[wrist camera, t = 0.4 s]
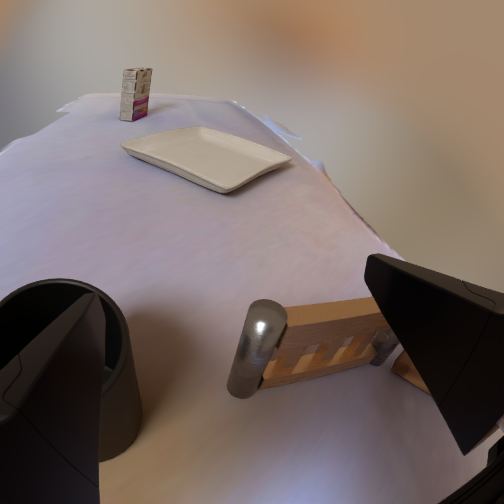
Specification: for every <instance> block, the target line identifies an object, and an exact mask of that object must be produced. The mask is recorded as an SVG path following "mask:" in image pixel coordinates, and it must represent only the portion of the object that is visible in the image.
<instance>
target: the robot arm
mask: <svg viewBox="0 0 504 504" xmlns="http://www.w3.org/2000/svg"><path fill="white" fill-rule="evenodd" d="M364 280H365V283H366V285H367V286H368V288H369V290H370V292H371V294H372V296H373V298H374V300H375V302H376V304H377V306H378V307H379V309H380V311H381V313H382V315H383V316H384V318H385V320H386V321H387V323H388V324H389V326H390V327H391V329H392V331H393V332H394V334H395V335H396V337H397V339H398V340H399V342H400V343H401V345H402V347H403V348H404V350H405V351H406V353H407V355H408V356H409V358H410V360H411V361H412V363H413V365H414V366H415V368H416V370H417V371H418V373H419V375H420V376H421V378H422V380H423V382H424V383H425V385H426V387H427V389H428V390H429V392H430V394H431V396H432V397H433V399H434V401H435V403H436V404H437V406H438V408H439V410H440V412H441V414H442V416H443V418H444V419H445V421H446V423H447V425H448V427H449V429H450V431H451V433H452V435H453V437H454V438H455V440H456V442H457V444H458V446H459V448H460V450H461V452H462V454H463V455H464V456H465V455H467V454H468V453H469V452H471V451H472V450H473V449H474V448H476V447H477V446H478V445H480V444H481V443H482V442H483V441H484V440H486V439H487V438H488V437H489V436H491V435H492V434H493V433H494V432H495V431H496V430H498V429H499V428H501V430H502V431H503V432H504V293H500V292H497V291H493V290H491V289H487V288H484V287H481V286H478V285H475V284H472V283H469V282H466V281H463V280H462V281H461V280H460V279H456V278H454V277H451V276H448V275H445V274H442V273H439V272H436V271H433V270H430V269H427V268H424V267H421V266H418V265H414V264H411V263H408V262H405V261H402V260H399V259H396V258H392V257H389V256H386V255H383V254H379V253H378V254H371V255H369V256H368V258H367V262H366V268H365V273H364ZM105 326H106V319H105V314H104V311H103V308H102V305H101V302H100V299H99V297H98V295H97V294H96V293H89V294H84V295H83V296H82V297H81V298H79V299H78V300H77V301H76V302H75V303H74V304H72V305H71V306H70V307H69V308H68V309H67V310H66V311H64V312H63V313H62V314H61V315H60V316H59V317H58V318H56V319H55V320H54V321H53V322H52V323H51V324H50V325H49V326H48V327H46V328H45V329H44V330H43V331H42V332H41V333H40V334H39V335H38V336H37V337H36V338H34V339H33V340H32V341H31V342H30V343H29V344H28V345H27V346H26V347H25V348H24V349H23V350H22V351H21V352H20V353H19V355H16V356H15V357H14V358H13V359H12V360H11V361H10V362H9V363H8V364H7V365H6V366H5V367H4V368H3V369H2V370H1V371H0V504H100V493H99V430H100V411H101V397H102V386H103V376H104V366H105ZM438 504H504V436H503V437H502V438H501V439H499V440H498V441H497V442H496V443H495V444H494V445H493V446H492V447H491V448H490V449H489V452H488V460H487V467H486V468H484V469H483V470H482V471H481V472H480V473H478V474H477V475H476V476H475V477H473V478H472V479H471V480H470V481H468V482H467V483H466V484H464V485H463V486H462V487H460V488H459V489H458V490H456V491H455V492H454V493H452V494H451V495H449V496H448V497H446V498H445V499H444V500H442V501H441V502H439V503H438Z"/></svg>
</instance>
